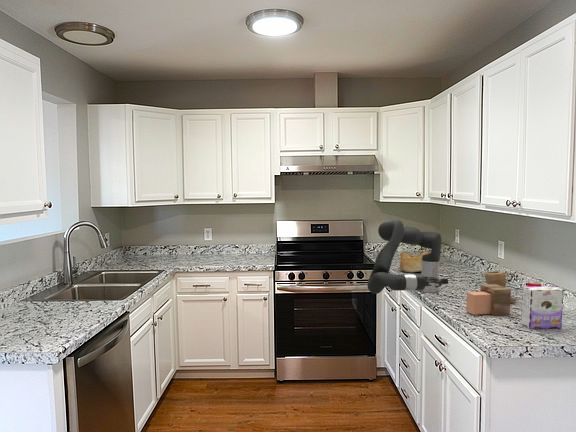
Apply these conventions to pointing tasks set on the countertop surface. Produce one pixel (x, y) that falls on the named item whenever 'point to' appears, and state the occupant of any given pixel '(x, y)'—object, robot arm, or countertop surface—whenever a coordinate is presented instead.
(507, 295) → the tunnel
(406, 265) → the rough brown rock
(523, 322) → the candy box
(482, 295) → the block
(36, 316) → the countertop surface
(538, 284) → the beverage can
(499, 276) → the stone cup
